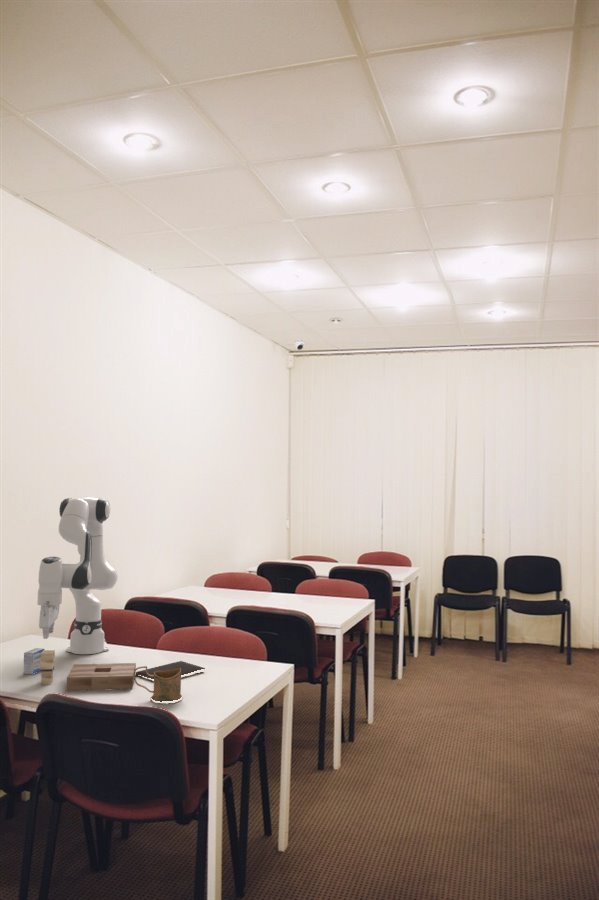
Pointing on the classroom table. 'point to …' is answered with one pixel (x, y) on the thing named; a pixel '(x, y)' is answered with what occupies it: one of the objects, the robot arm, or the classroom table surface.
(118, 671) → the board
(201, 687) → the classroom table surface
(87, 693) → the classroom table surface
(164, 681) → the mug
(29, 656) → the medicine box
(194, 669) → the hardcover book
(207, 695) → the classroom table surface
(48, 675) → the peg
